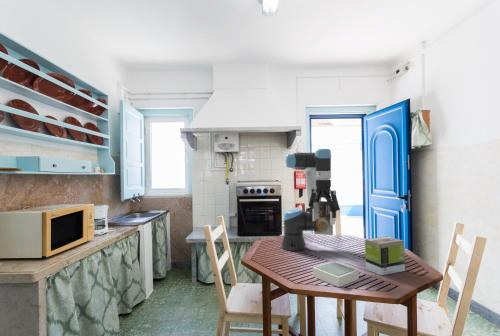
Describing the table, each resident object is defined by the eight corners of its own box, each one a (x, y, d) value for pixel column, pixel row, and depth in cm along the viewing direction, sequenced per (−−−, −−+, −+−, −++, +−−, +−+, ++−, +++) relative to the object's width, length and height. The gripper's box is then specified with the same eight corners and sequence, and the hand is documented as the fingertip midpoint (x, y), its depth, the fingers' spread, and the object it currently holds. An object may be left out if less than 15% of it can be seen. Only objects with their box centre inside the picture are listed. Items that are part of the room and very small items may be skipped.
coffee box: (333, 232, 141) (332, 201, 141) (332, 235, 135) (332, 202, 135) (314, 231, 144) (314, 200, 144) (313, 234, 138) (313, 202, 138)
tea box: (388, 264, 139) (388, 235, 139) (405, 271, 130) (405, 240, 130) (364, 268, 134) (364, 238, 134) (381, 276, 125) (380, 243, 125)
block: (312, 276, 125) (312, 267, 125) (332, 269, 133) (332, 260, 133) (338, 287, 113) (338, 276, 113) (358, 279, 121) (358, 269, 121)
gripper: (301, 178, 147) (301, 219, 147) (337, 180, 128) (337, 227, 128) (311, 178, 151) (311, 218, 151) (347, 179, 132) (347, 225, 132)
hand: (323, 222), depth 140 cm, fingers closed on coffee box, 11 cm apart
